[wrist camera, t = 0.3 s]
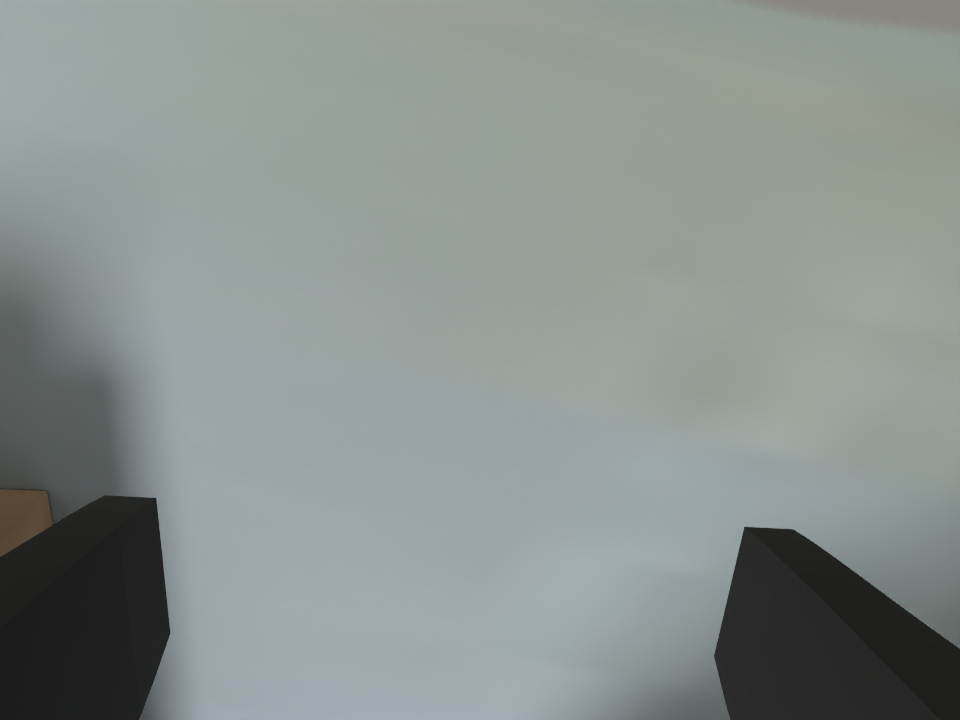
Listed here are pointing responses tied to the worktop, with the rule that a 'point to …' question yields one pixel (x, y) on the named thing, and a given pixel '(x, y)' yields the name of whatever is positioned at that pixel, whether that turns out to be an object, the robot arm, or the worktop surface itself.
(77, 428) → the worktop surface
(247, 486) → the worktop surface
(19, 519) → the hitch block
